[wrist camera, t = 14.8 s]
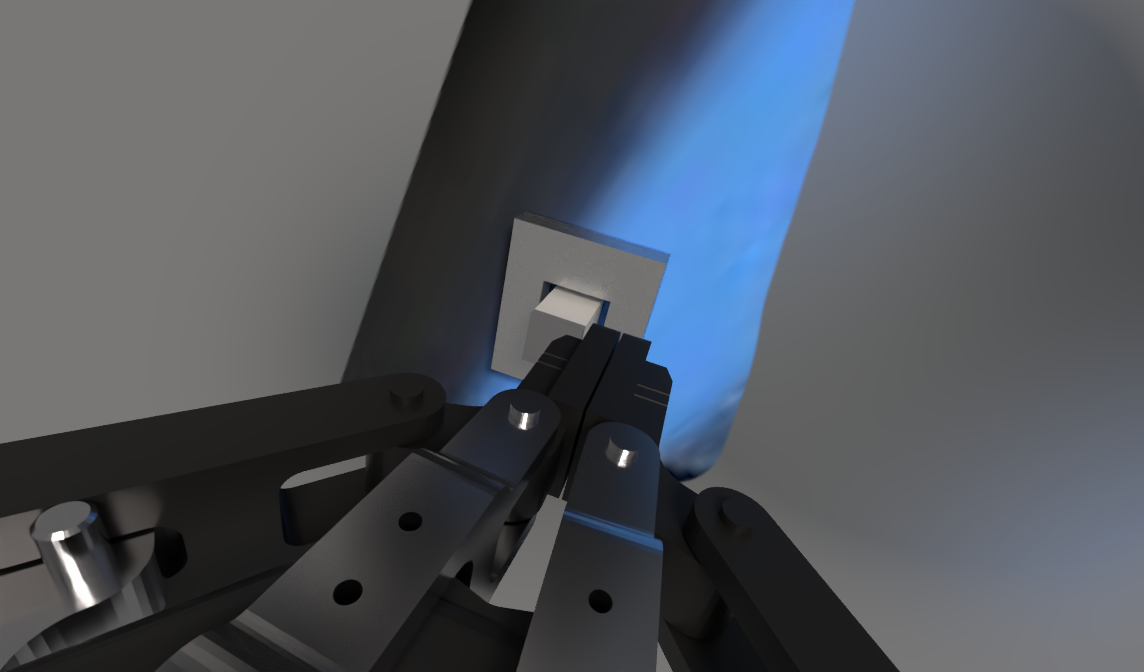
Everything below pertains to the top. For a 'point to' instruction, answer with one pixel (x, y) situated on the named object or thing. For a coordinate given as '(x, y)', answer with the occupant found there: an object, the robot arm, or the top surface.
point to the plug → (560, 319)
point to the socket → (572, 281)
